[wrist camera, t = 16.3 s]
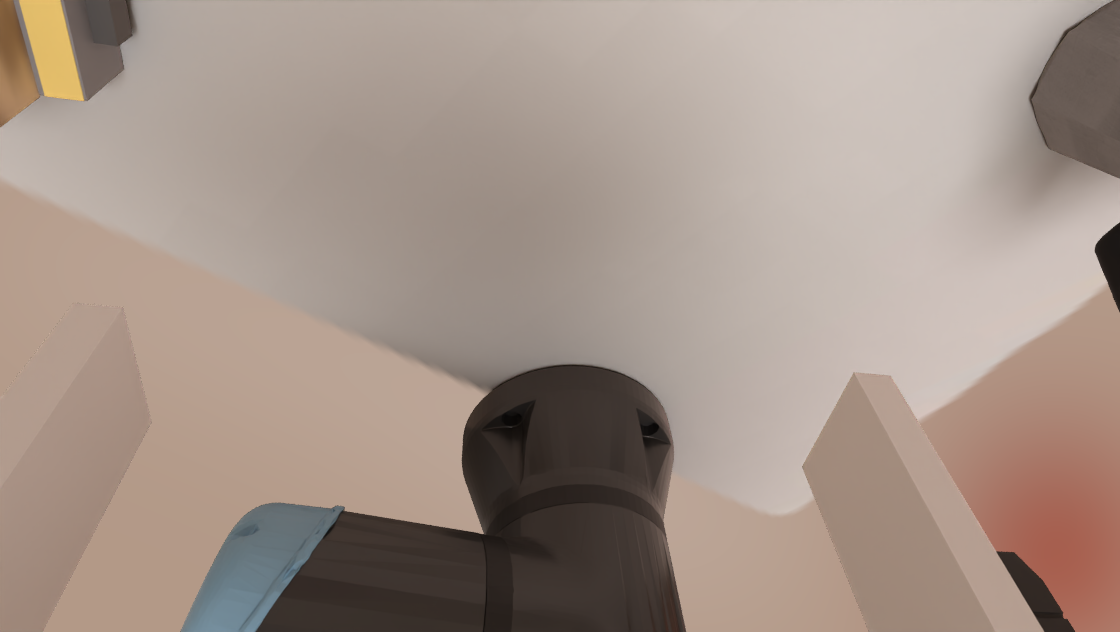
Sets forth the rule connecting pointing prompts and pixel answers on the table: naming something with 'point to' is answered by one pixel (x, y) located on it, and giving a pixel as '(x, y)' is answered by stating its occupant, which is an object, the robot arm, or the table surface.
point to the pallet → (14, 66)
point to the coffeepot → (1087, 110)
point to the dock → (73, 44)
